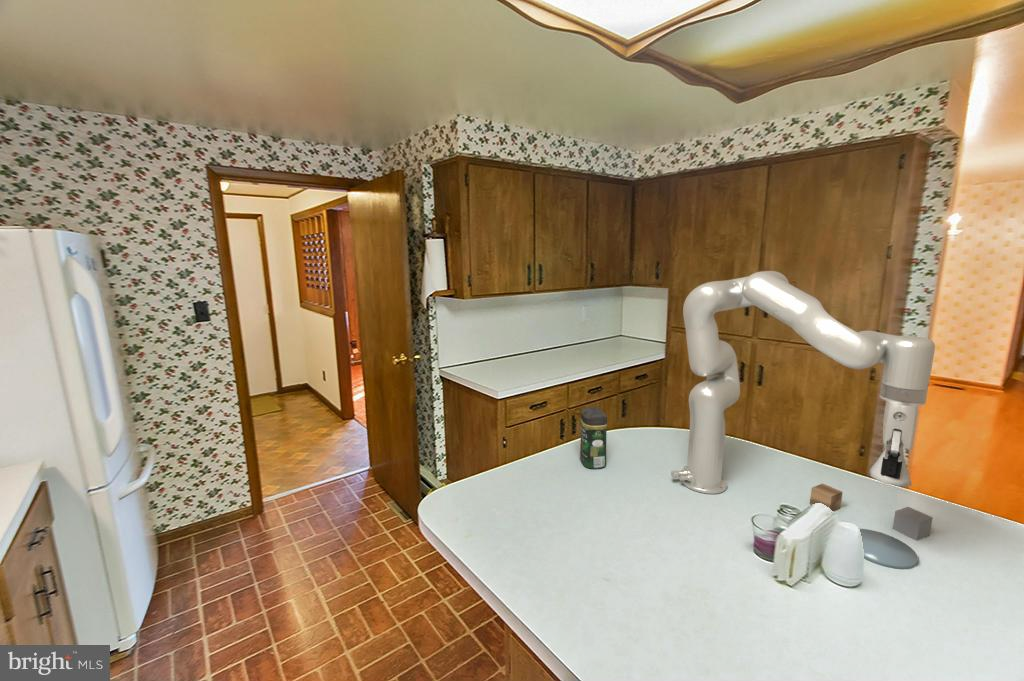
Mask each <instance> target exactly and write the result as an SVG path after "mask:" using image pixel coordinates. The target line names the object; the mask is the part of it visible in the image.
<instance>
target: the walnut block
mask: <svg viewBox="0 0 1024 681" xmlns="http://www.w3.org/2000/svg"><path fill="white" fill-rule="evenodd" d="M809 498H810V499H809V505H810V506H812V504H815V503H822V504H824V505H826V506H827V507H829V508H830V509H831V510H832V511H834V512H835V511H838V510H841V507H842V500H843V499H842V498H843V491H842V490H839V489H837V488H834V487H832V486H830V485H827V484H826V483H823V482H822V483H820V484H817V485H814V486H812V487H811V488H810V497H809Z"/></svg>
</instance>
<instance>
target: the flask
mask: <svg viewBox="0 0 1024 681" xmlns="http://www.w3.org/2000/svg"><path fill="white" fill-rule="evenodd" d="M900 437H901V436H900ZM901 443H902V442H901ZM889 445H892V443H891V442H890V440H889ZM899 447H901V444H899ZM884 448H885V450H884V449H883V451H882V452H881V454H880V456H879V457H878V459H877V460H876V461H875V463H874V464H873V465H872V466H871V468H870V469H869V471H868V473H869V475H870V477H871V478H873V479H875V480H877V481H879V482H881V483H883V484H887V485H892V486H897V487H907V486H908V487H909V486H910V487H911V486H912V485H913V484H912V480H911V477H910V475H909V471H908V467H907V463H906V460H905V457H904V451H903V452H902V459H901V461H902V467H901V473H900V478H899V479H896V478H892V477H888V476H884V475H881V467H882V461H883V457H885V451H886V446H885V447H884ZM889 450H891V448H889ZM898 452H899V450H898Z"/></svg>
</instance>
